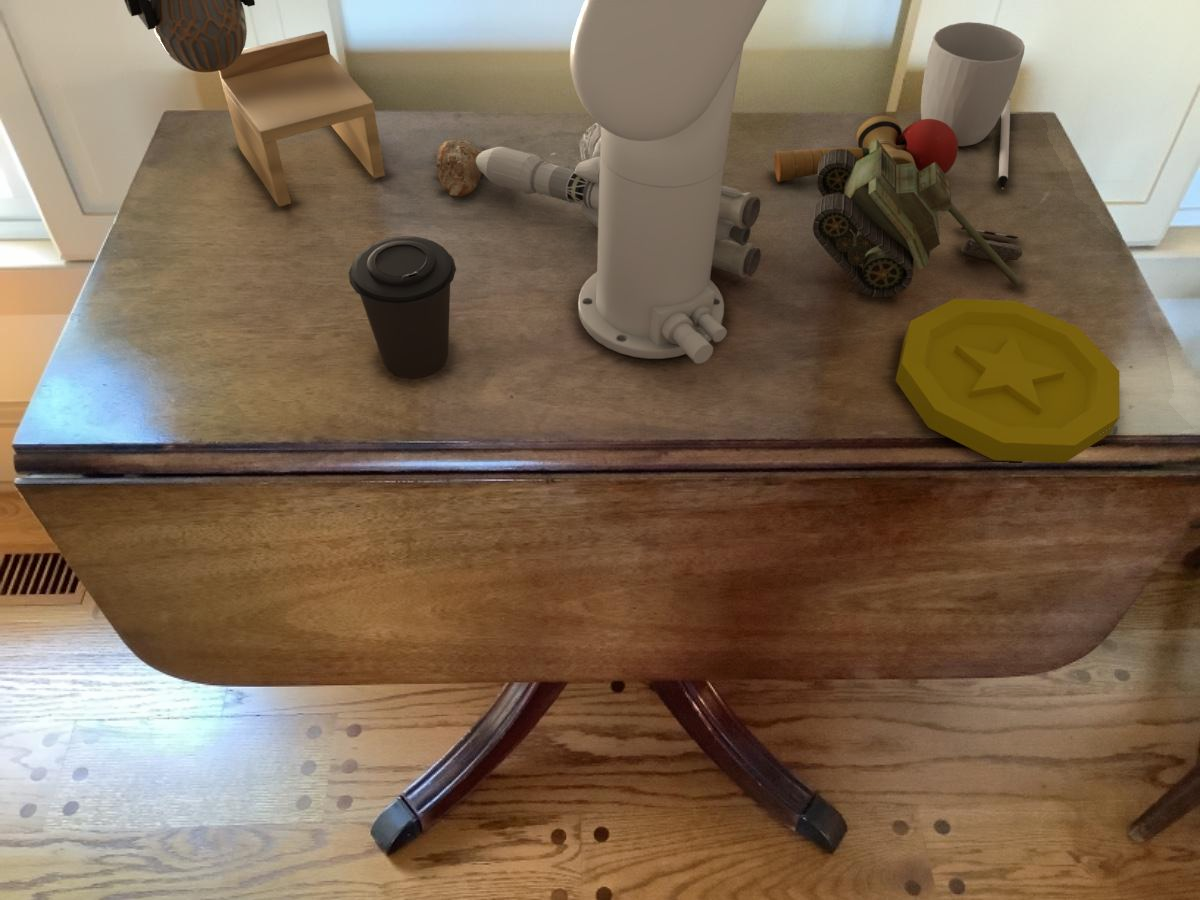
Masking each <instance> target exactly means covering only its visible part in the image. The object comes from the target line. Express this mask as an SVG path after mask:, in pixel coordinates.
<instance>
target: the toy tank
mask: <svg viewBox="0 0 1200 900" xmlns="http://www.w3.org/2000/svg"><path fill="white" fill-rule="evenodd" d="M816 185H817V189H818V192H819V193H820V194H821V196H822V197H821V198H820V199H819V200H818V201H817V202H816V205H815V206H814V210H813V211H814V213H813V224H812V231H813V235H814V237H815V239H816V240H817V242H818V243H819V244H820V246H821V247H823V249H824V250H825V251H826V252H827V253H828V255H829V256H830V257H831V259H833V261H834V262H835V263H836V264H837V265H838V266H839V268H841V270H843V272H844V273H845V274H846V275H847V277H848V278H849V279H850V280H851V282H853V284H855V286H856V287H857V288H858V289H859V290H860V292H861V293H862V294H864V295H866V296H869V297H871V298H877V299H884V298H891V297H894V296H896V295H899V294H901V293H902V292H903V291H905V290H906V289H907V288H908V287H909V285H911V283H912V281H913V278H914V263H915V266H916V269H917V271H920V270H922V269H924V268H926V267H927V264H928V262H929V261H930V255H931V251H933V250H934V249H936V248H937V247H938V246H940V245H941V238H940V237H941V236H940V235H941V234H940V221H939V220H940V219H939V212H940V211H941V212H947V211H948V212H949V213H950V215H951V216H952V217H953V218H954V219H955V220H956V222H958V224H959V225H960V226H961V228H962V227H963V228H964V229H965V230H964V231H965V232H967V234H968V235H969V236H970V237H971V238H972V239H974V240H975V241H976V243H977V244H978V245H979V246H980V247H981V248H982V249H983V251H984V252H985V253H986V254H987V255H988V256H989V257H990V258H991V260H990V261H992V262H993V263H994V264H995V266H997V268H998V269H999V270H1000V271H1001V273H1003V274H1004V276H1005V277H1006V278H1007V279H1008V280H1009V281H1010V282H1011V283H1012V284H1013V286H1015V287H1016V286H1019V285H1020V284H1021V279H1020V278H1019V277H1018V276H1017V275H1016V274H1015V273H1014V271H1012V269H1011V267H1009V266H1008V265H1007V264H1006V263H1005V261H1003V260H1002V259H1001V258H1000V257H999V256H998V255H997V254H996V252H995V251H994V250H993V249H992V248H991V247H990V246H989V244H988V243H987V242H986V241H985V240H986V239H984V237H983V236H982V235H981V233H979V232H977V231H976V230H977V229H976V228H975V227H974V226H973V225H972V224H971V223H970V221H969V220H968V219H967V218H966V217H965V216H964V215H963V214H962V212H961V211H960V210H959V209H958V208H957V207H956V205H955V204H953V202H952V191H951V185H950V179H949V178H948V176H947V175H946V173H945V174H944V173H943V171H942V170H941V169H940V167H939V166H938V165H937V163H936V162H934V163H932V164H931V165H929V166H927V167H926V168H924V169H923V170H921V171H919V170H918V169H917V168H916V166H915V165H914V164H913V163H910V164H900V165H897V164H896V163H895V161H894V160H893V159H892V158H891V156H890V155H889V154H888V153H887V151H886V150H885V149H884V147H883V146H882V145H881V144H880V142H879V141H878V140H877V139H875V140H874V141H872V142H871V143H870V154H869V155H867V156H865V157H863V158H862V159H860V160H858V159H857V158H856V157H855V156H854V154H852V153H851V152H850V151H848V150H844V149H836V150H831V151H829V152H828V153H826V154H825V155H824V156H823V157H822V158H821V160H820V162H819V167H818V174H817V179H816ZM975 229H976V230H975ZM855 236H856V237H855ZM854 238H855V239H854ZM854 240H855V242H854ZM861 265H862V266H861Z"/></svg>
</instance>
